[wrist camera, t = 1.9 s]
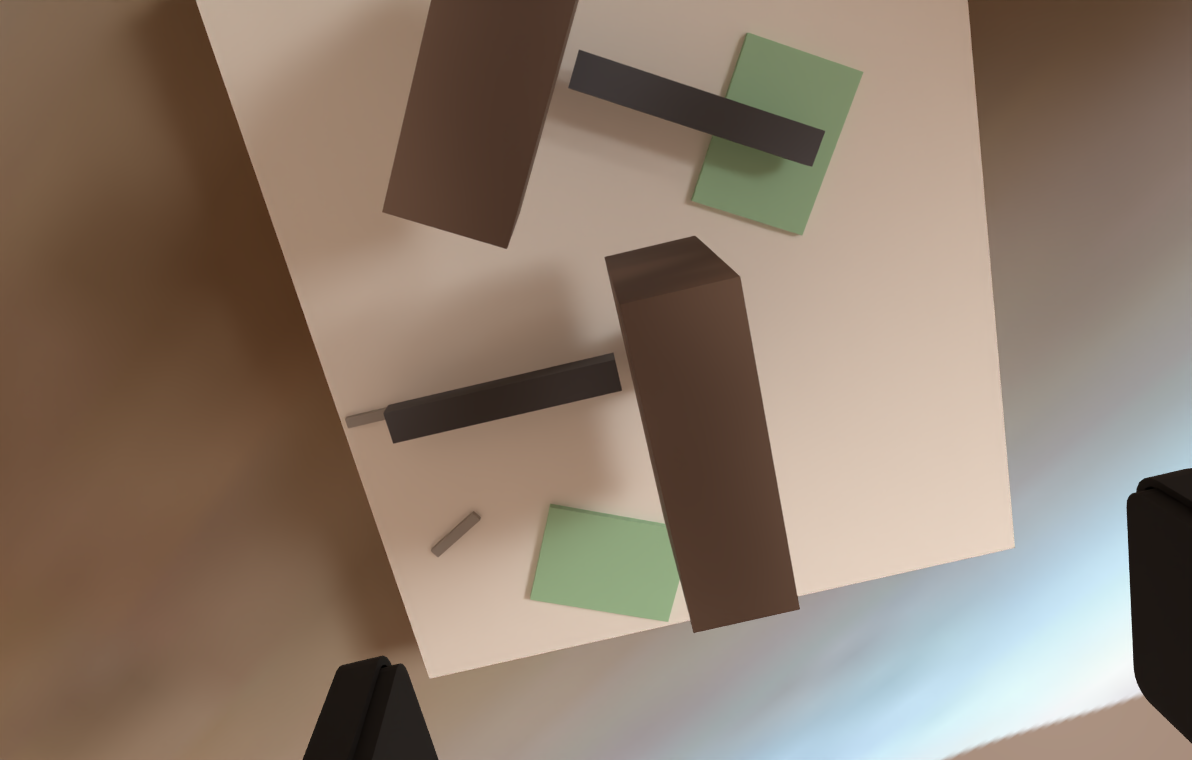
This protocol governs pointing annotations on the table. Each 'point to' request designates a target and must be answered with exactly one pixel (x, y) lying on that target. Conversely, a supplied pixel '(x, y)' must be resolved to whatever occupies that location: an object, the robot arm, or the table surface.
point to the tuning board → (588, 313)
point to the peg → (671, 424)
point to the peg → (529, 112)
